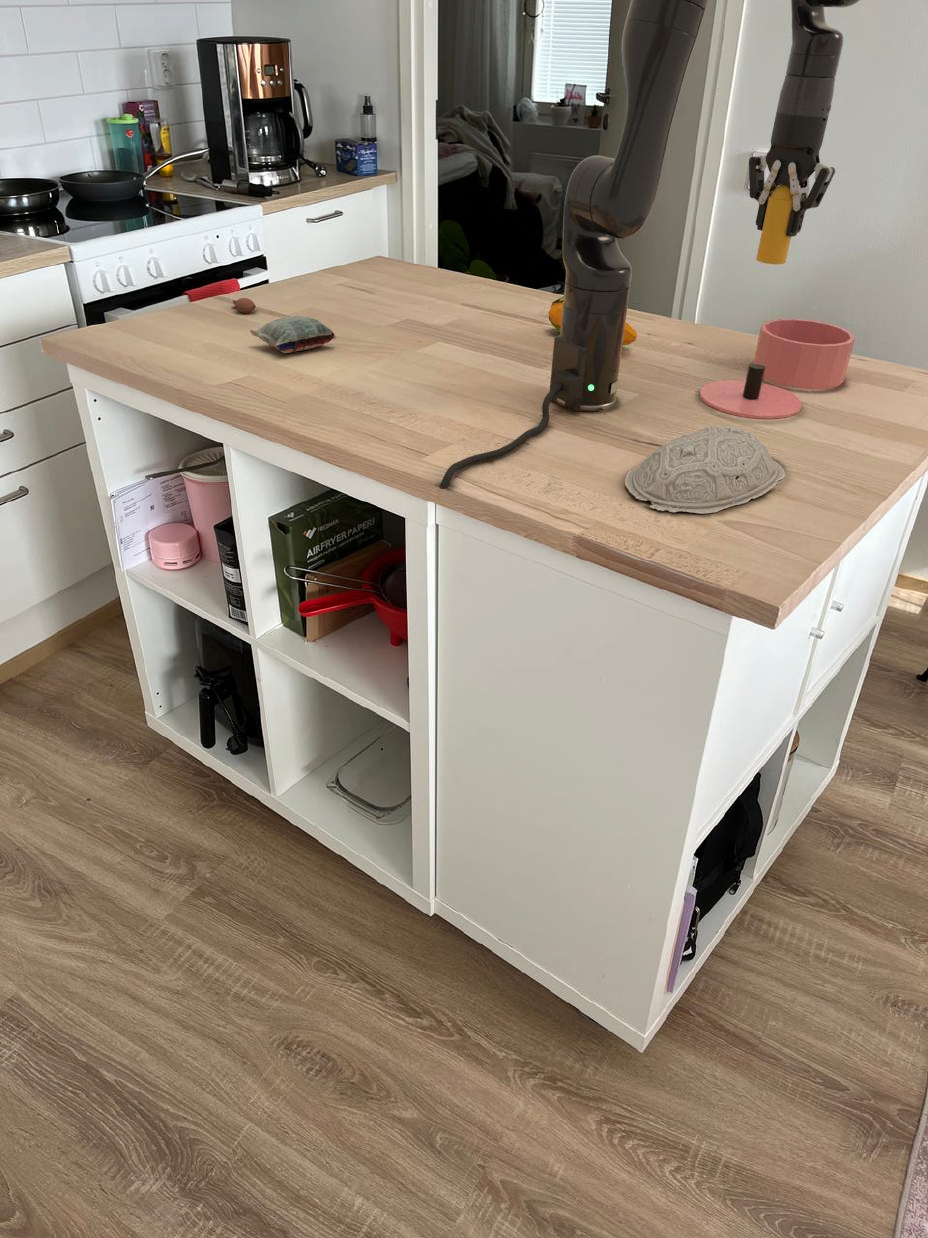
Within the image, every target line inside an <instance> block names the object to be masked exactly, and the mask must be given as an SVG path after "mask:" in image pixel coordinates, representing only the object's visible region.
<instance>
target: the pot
mask: <svg viewBox="0 0 928 1238" xmlns="http://www.w3.org/2000/svg"><path fill="white" fill-rule="evenodd" d="M855 341H856V337H855V336H854V334H853V333H852V332H851V331H849V330H847V329H846V328H843V327H841V326H838V325H834V324H831V323H829V322H828V323H827V322H822V321H817V320H811V319H802V318H777V319H772V320H767V321H765V322H764V323H762V324H761V325H760V329H759V335H758V338H757V344H756V347H755V352H754V358H753V363H752V364H760V365H763V366H765V372H764V376H763V380H764V381H765V380H766V381H768V382H770V383H773V384H776V385H781V386H785V387H790V388H795V389H796V388H797V389H806V390H827V389H832V388H835V387H836V388H837V387H839V386H841V385H842V384H843V382H844V381H845V377H846V374H847V370H848V367H849V363H850V359H851V355H852V353H853V352H852V351H853V349H854V345H855Z"/></svg>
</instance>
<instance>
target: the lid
mask: <svg viewBox="0 0 928 1238" xmlns="http://www.w3.org/2000/svg"><path fill="white" fill-rule="evenodd" d="M764 372H765V366H763V365H760V364H753V363H750V364H749V365H748V369H747V372H746V378H745V380H741V379H732V380H731V379H728V380H718V381H712V382H709V383H707V384H705V385H703V386H702V387H701V388H700V390H699V398H700V399H701V401H702V402H703V403H705V404H706V405H707V406H709V407H711V408H713V409H715V410H716V411H720V412H723V413H726V414H729V415H734V416H737V417H743V418H749V419H760V420H761V419H762V420H763V419H764V420H774V419H782V418H784V419H785V418H788V417H792V416H794V415H797V414H799V412H800V411H801V410H802V405H803V403H802V400H801V399H800V398H799V397H798V396H797V395H796V394H795V393H793V392H791V391H789V390H787V389H784V388H782V387H780V386H776V385H771V384H769V383H764V382H763V380H764V379H763V376H764Z"/></svg>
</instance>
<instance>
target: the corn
mask: <svg viewBox="0 0 928 1238" xmlns="http://www.w3.org/2000/svg"><path fill="white" fill-rule="evenodd" d="M563 300H564V295H562V296H561V297H559V298H557V299H556V300H554V301H552V303H551V305H550V309H549V310H548V320H549V322H550V324H551V325H552V326H553V328H555V330H556V331H557V332H559V333H560V331H561V320H562V310H563ZM637 337H638V333H637V331H636V329H635V328H633V327H632V326H631V325H630V324H629V323H628V322H626V323H625V330H624V338H623V345H622V346H629V345H631V344H632V343H634V342H635V341H636V340H637Z"/></svg>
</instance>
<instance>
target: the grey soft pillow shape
mask: <svg viewBox="0 0 928 1238" xmlns="http://www.w3.org/2000/svg"><path fill="white" fill-rule="evenodd" d="M249 332H250V334H251V335H252V336H254V337H257V338H259V340H260V341H262V342H264V343H266V344H268V345H269V346H271V347H273V348H275V349H276V350H278V351H280V352H281V353H282V354H288V353H290V354H291V353H294V352H295V353H297V352H300V351H305V350H310V349H315V348H318V347H320V346H323V345H325V344H327V343H330V342H331V341H333V339H334V340H337V335H336V334H335V332H333V330H332V329H331V328H329V327H328V326H326V325H325V324H323V323H322V322H321V321H319V320H318V319H317V318H316V319H315V318H314V317H311V316H303V315H293V316H288V317H281V318H278V319H275V320H271V321H269V322H266V323H265V324H263V325H261V326H260V327H259V328H258V329H255V330H253V329H250V330H249Z"/></svg>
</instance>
